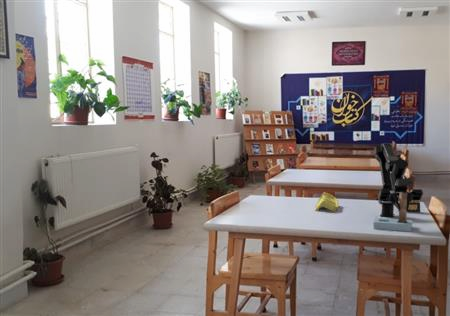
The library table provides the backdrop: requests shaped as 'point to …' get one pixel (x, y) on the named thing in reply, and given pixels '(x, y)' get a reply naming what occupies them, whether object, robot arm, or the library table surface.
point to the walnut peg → (402, 207)
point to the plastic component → (327, 202)
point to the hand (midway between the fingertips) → (403, 209)
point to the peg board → (392, 224)
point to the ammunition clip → (414, 205)
